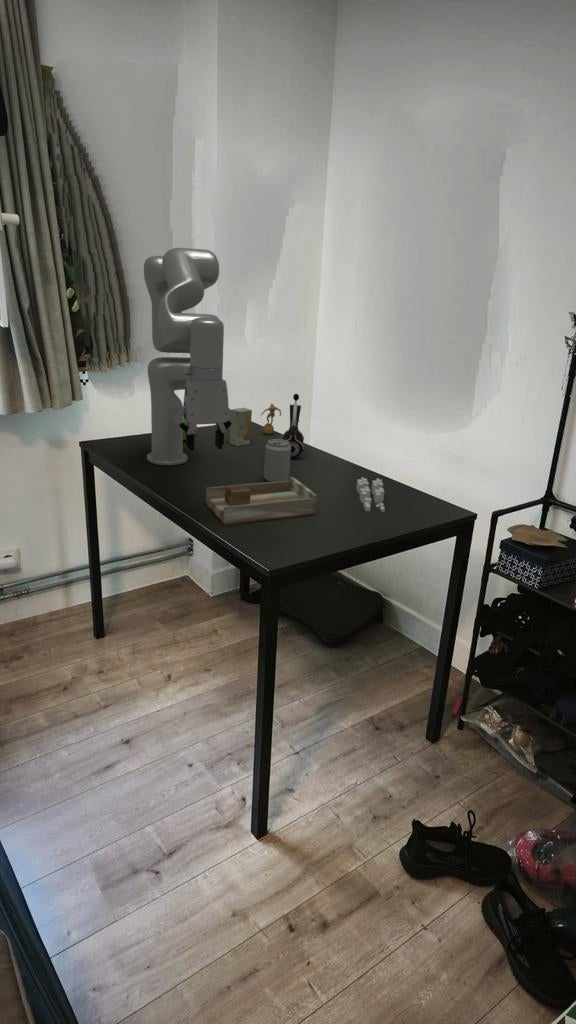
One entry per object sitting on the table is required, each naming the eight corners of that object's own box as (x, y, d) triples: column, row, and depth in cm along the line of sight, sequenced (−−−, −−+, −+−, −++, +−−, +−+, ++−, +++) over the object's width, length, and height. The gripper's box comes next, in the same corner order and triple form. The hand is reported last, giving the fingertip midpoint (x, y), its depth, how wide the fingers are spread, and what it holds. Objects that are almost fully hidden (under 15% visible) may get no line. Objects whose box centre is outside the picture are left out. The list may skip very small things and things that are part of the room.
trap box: (205, 503, 167) (206, 484, 165) (291, 495, 177) (292, 476, 175) (224, 525, 155) (225, 504, 152) (315, 514, 165) (316, 494, 163)
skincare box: (237, 446, 217) (238, 411, 212) (228, 443, 220) (230, 409, 215) (251, 443, 222) (252, 409, 217) (242, 441, 224) (244, 407, 220)
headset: (281, 446, 222) (285, 390, 214) (303, 447, 222) (307, 392, 214) (279, 460, 206) (283, 400, 199) (302, 462, 206) (307, 402, 199)
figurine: (276, 432, 238) (278, 400, 234) (282, 436, 233) (284, 404, 229) (255, 433, 235) (257, 401, 230) (262, 437, 230) (263, 405, 225)
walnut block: (224, 500, 163) (225, 485, 162) (242, 498, 165) (243, 483, 164) (231, 507, 159) (231, 492, 158) (249, 505, 161) (250, 490, 160)
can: (258, 479, 188) (260, 440, 183) (276, 474, 193) (278, 436, 188) (275, 486, 183) (278, 446, 178) (293, 481, 188) (296, 442, 184)
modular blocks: (356, 489, 186) (357, 476, 184) (379, 490, 186) (380, 478, 185) (365, 515, 168) (366, 501, 166) (390, 516, 168) (392, 503, 167)
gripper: (173, 377, 139) (173, 455, 146) (247, 376, 146) (243, 450, 153) (165, 371, 146) (165, 446, 152) (235, 370, 153) (233, 442, 159)
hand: (204, 447), depth 153 cm, fingers open, 6 cm apart
